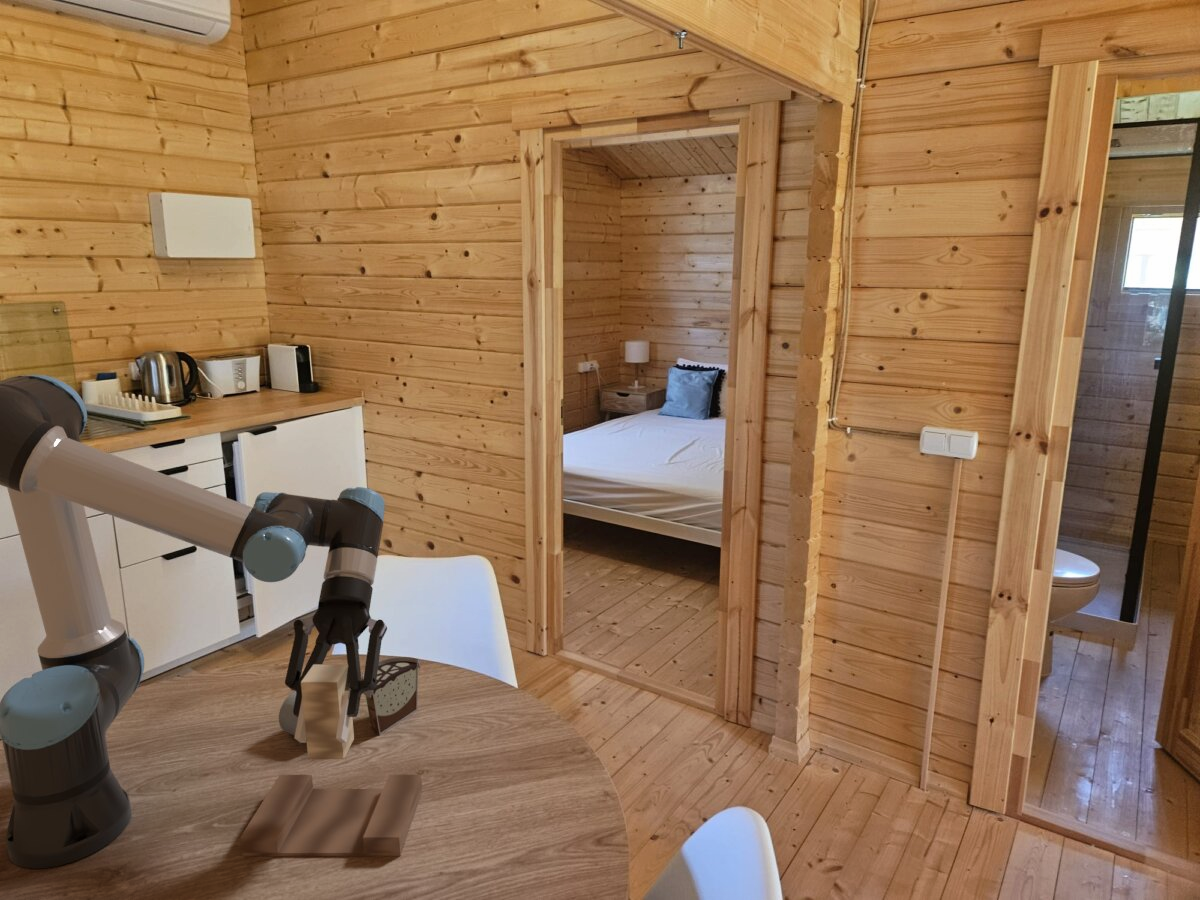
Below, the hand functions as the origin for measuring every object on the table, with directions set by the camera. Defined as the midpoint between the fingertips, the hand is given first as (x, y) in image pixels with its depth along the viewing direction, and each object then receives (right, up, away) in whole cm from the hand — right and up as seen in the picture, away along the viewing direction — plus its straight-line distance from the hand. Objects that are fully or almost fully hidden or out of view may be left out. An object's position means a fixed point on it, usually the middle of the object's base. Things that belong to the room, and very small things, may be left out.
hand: (320, 740), depth 112 cm
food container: (0, -9, +35) cm, 36 cm away
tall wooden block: (0, -3, +4) cm, 5 cm away
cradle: (0, -15, +7) cm, 16 cm away
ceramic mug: (-11, -10, +30) cm, 34 cm away
